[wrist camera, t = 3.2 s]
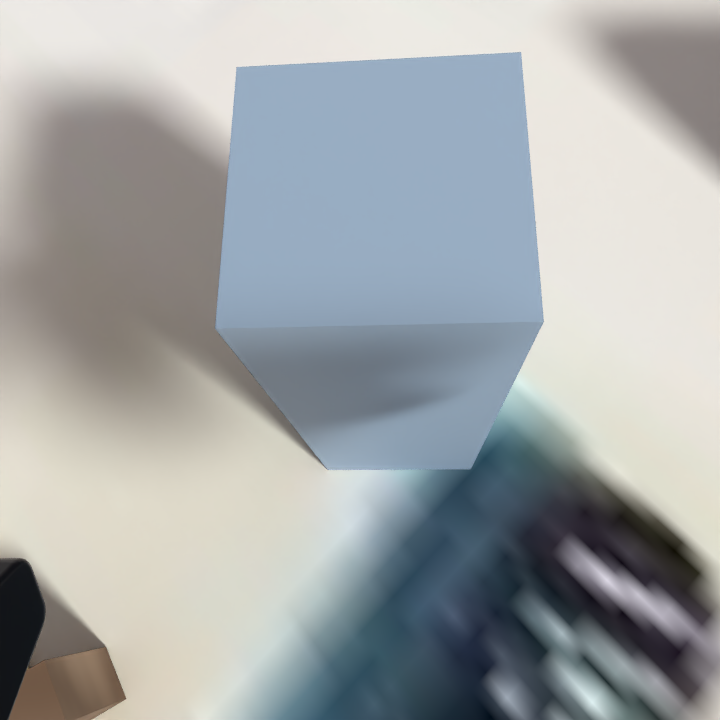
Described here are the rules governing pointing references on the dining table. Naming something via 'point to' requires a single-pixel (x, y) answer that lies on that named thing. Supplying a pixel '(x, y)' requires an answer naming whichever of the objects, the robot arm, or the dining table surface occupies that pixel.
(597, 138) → the dining table surface
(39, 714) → the wooden t-shaped piece
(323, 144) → the large blue square block
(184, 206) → the dining table surface
